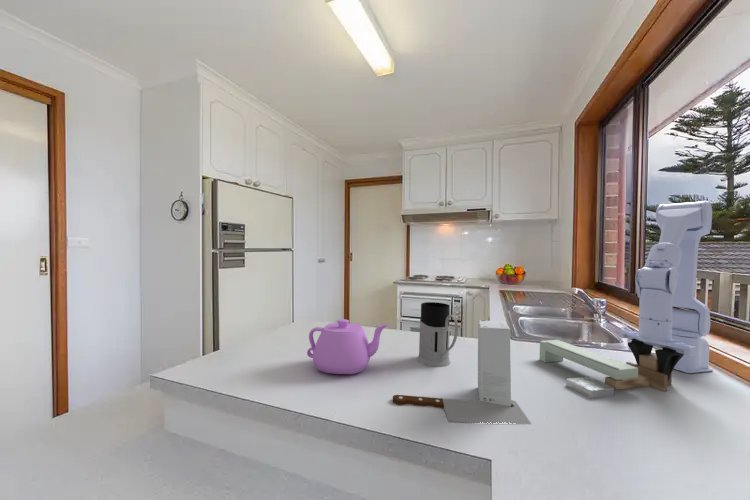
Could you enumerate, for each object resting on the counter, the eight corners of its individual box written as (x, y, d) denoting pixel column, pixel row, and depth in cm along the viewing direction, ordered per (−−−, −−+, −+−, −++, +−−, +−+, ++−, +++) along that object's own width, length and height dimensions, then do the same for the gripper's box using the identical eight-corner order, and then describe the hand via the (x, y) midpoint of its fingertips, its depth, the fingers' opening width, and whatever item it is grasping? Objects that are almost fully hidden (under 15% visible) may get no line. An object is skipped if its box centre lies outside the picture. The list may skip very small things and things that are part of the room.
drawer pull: (557, 358, 87) (557, 338, 87) (637, 392, 66) (638, 366, 66) (539, 359, 85) (540, 339, 85) (616, 394, 65) (617, 368, 65)
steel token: (587, 385, 70) (587, 376, 70) (613, 397, 64) (613, 388, 64) (566, 387, 69) (566, 378, 69) (591, 400, 63) (591, 390, 63)
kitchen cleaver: (391, 418, 52) (393, 388, 62) (390, 423, 52) (393, 393, 62) (539, 431, 50) (517, 399, 60) (539, 437, 50) (517, 404, 60)
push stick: (643, 374, 76) (644, 350, 76) (683, 389, 69) (684, 362, 69) (593, 379, 72) (594, 354, 72) (629, 395, 64) (630, 367, 64)
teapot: (297, 376, 69) (299, 324, 69) (314, 356, 83) (315, 312, 83) (385, 382, 68) (387, 329, 68) (388, 360, 81) (389, 316, 81)
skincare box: (511, 409, 57) (513, 329, 57) (477, 403, 59) (479, 326, 59) (506, 389, 65) (507, 320, 65) (476, 385, 67) (478, 317, 67)
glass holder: (438, 353, 88) (440, 301, 88) (470, 372, 74) (472, 311, 74) (411, 356, 85) (413, 302, 85) (439, 377, 71) (441, 312, 71)
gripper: (610, 312, 78) (609, 366, 78) (680, 327, 64) (678, 392, 64) (631, 312, 79) (630, 364, 79) (704, 325, 65) (702, 389, 65)
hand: (653, 376), depth 72 cm, fingers closed on push stick, 3 cm apart
